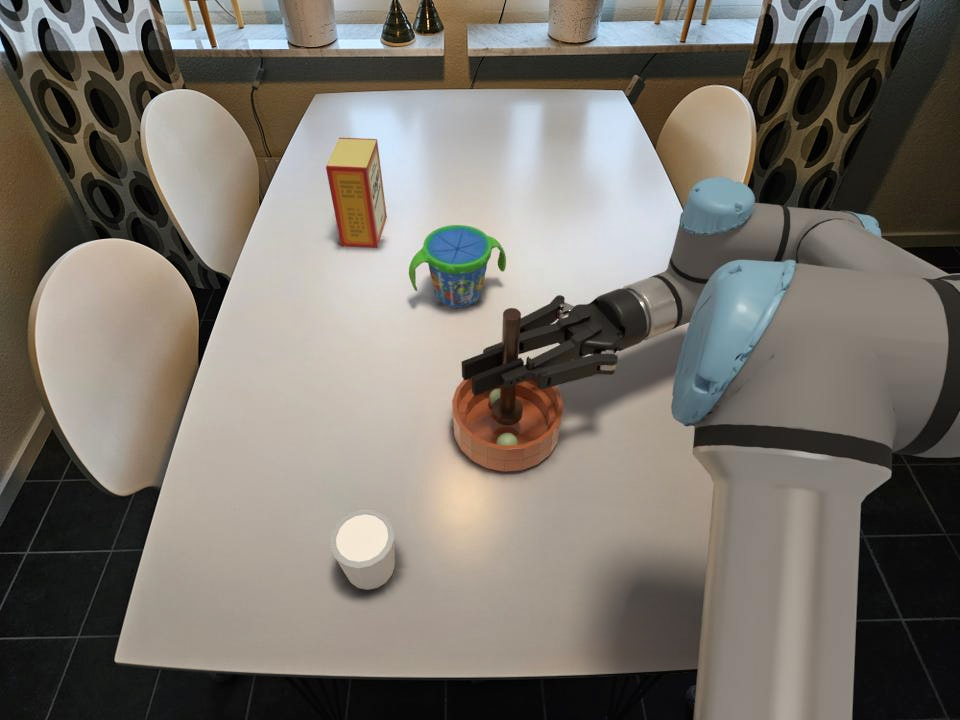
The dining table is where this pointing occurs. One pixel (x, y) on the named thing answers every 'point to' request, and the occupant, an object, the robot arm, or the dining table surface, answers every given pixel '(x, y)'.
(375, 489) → the dining table surface
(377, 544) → the white cup
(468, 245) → the snack cup
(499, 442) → the bead
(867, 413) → the robot arm
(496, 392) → the bead
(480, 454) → the bowl
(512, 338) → the stick
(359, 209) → the baking soda box
